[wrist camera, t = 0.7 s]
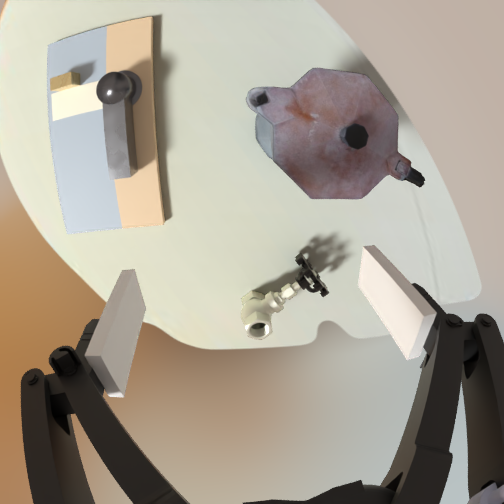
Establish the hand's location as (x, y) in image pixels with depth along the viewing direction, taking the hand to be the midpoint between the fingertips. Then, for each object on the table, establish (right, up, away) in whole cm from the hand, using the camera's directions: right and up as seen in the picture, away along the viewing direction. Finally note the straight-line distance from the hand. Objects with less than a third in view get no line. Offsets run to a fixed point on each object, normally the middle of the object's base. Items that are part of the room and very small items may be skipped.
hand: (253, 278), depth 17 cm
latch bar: (-15, +16, +13) cm, 25 cm away
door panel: (-18, +16, +14) cm, 28 cm away
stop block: (-22, +22, +9) cm, 32 cm away
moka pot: (+5, +16, +17) cm, 24 cm away
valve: (+3, -3, +26) cm, 27 cm away
